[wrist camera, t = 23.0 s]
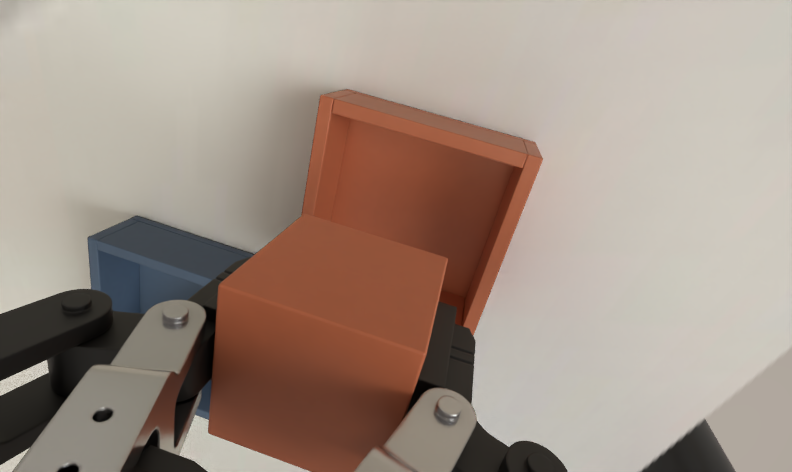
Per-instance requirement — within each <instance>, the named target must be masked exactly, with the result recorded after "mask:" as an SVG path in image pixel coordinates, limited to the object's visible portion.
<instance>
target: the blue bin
mask: <svg viewBox="0 0 792 472" xmlns="http://www.w3.org/2000/svg"><path fill="white" fill-rule="evenodd" d="M88 251H89V264H90V278H91V289H92V290H98V291H101V292H104V293H106V294H107V295H109V296H110V298H111V299H112V308H113V311H119V312H130V313H140V314H145V313H146V312H147V311H148V310H149V309H150V308H151V307H153V306H154V305H156V304H159V303H161V302H165V301H170V300H188V299H189V298H190V297H191V296H193V295H194V294H195V293H197V292H198V291H199V290H200V289H202V288H203V287H204V286H205V285H207V284H208V283H209V282H210V281H212V280H213V279H216V277H217V276H218V275H219V274H220V273H222V272H224V271H225V269H227V268H228V267H229V266H231V265H232V264H233V263H234V262H236V261H239V260H242V259H245V258H248V257H252V256H254V254H251V253H248V252H245V251H242V250H239V249H236V248H233V247H230V246H227V245H223V244H220V243H217V242H214V241H211V240H208V239H205V238H202V237H199V236H196V235H193V234H190V233H187V232H184V231H181V230H178V229H175V228H172V227H169V226H166V225H163V224H160V223H157V222H154V221H151V220H148V219H145V218H142V217H139V216H135V217H132V218H131V219H128V220H126V221H124V222H121V223H119V224H117V225H114V226H112V227H110V228H108V229H105V230H103V231H101V232H99V233H96V234H94V235H92V236H89V237H88ZM211 383H212V381H211V380H209V382H208V383H207V384H206V385H205V386H204V387H203V388H202V397H201V400H200V403H199V406H198V408H197V411H196V413H195V415H197V416H200V417H203V418H205V419H208V420H209V411H210V397H211Z"/></svg>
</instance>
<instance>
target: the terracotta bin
mask: <svg viewBox="0 0 792 472" xmlns="http://www.w3.org/2000/svg"><path fill="white" fill-rule="evenodd" d="M542 161H543V158H542V156H541V154H540V152H539V149H538V147H537V145H536V143H535V142H532V141H528V140H525V139H521V138H518V137H514V136H511V135H507V134H504V133H500V132H497V131H493V130H490V129H486V128H483V127H479V126H476V125H472V124H469V123H465V122H461V121H458V120H454V119H451V118H447V117H444V116H440V115H437V114H433V113H430V112H426V111H423V110H419V109H416V108H412V107H409V106H405V105H402V104H398V103H395V102H391V101H387V100H384V99H380V98H377V97H373V96H370V95H366V94H363V93H359V92H356V91H352V90H349V89H346V90H342V91H337V92H333V93H328V94H323V95H321V96H320V101H319V107H318V113H317V120H316V126H315V132H314V139H313V145H312V151H311V158H310V164H309V170H308V177H307V183H306V189H305V196H304V202H303V208H302V215H303V214H308V215H311V216H314V217H318V218H321V219H324V220H327V221H331V222H334V223H337V224H340V225H343V226H347V227H350V228H353V229H356V230H359V231H363V232H366V233H369V234H372V235H375V236H379V237H382V238H385V239H388V240H391V241H395V242H398V243H401V244H404V245H408V246H411V247H414V248H417V249H420V250H424V251H427V252H430V253H433V254H436V255H440V256H443V257H446V258H447V259H448V262H447V266H446V271H445V275H444V280H443V284H442V288H441V293H440V297H439V301H440V302H443V303H446V304H449V305H452V306H455V307H457V312H456V318H455V324H457V325H460V326H463V327H467V328H469V329H470V331H471V333H472V335H474V332H475V330H476V327H477V325H478V322H479V320H480V317H481V315H482V312H483V309H484V307H485V304H486V302H487V299H488V297H489V294H490V292H491V289H492V287H493V284H494V282H495V279H496V277H497V274H498V272H499V269H500V267H501V264H502V262H503V259H504V256H505V254H506V251H507V249H508V246H509V244H510V241H511V239H512V236H513V234H514V231H515V229H516V226H517V224H518V221H519V219H520V216H521V214H522V211H523V209H524V206H525V203H526V201H527V198H528V196H529V193H530V191H531V188H532V186H533V183H534V181H535V178H536V176H537V173H538V171H539V168H540V166H541V163H542ZM302 215H301V216H302Z"/></svg>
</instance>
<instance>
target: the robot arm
mask: <svg viewBox="0 0 792 472" xmlns="http://www.w3.org/2000/svg"><path fill="white" fill-rule="evenodd" d="M250 258H251V257H248V258H245V259H242V260H239V261H236V262H234V263H233V264H232V265H231V266H229V267H228V268H227V269H225V271H224V272H222V273H220V274H219V275H218V276H217V277H216V279H213V280H212V281H210V282H209V283H208V284H207V285H205V286H204V287H203V288H202V289H200V290H199V291H198V292H197V293H195V294H194V295H193V296H191V297H190V298H189V299H188V300H170V301H165V302H161V303H159V304H156V305H154V306H153V307H151V308H150V309H149V310H148V311H147V312H146V313H145V314H140V313H130V312H119V311H113V308H112V299H111V298H110V296H109V295H107V294H106V293H104V292H101V291H98V290H92V289H77V290H70V291H66V292H62V293H59V294H56V295H53V296H51V297H48V298H45V299H42V300H39V301H36V302H33V303H31V304H28V305H25V306H22V307H19V308H16V309H14V310H11V311H8V312H5V313H2V314H0V381H1V380H3V379H6V378H8V377H10V376H12V375H14V374H16V373H19V372H21V371H23V370H25V369H27V368H30V367H32V366H34V365H36V364H38V363H40V362H43V361H45V360H47V362H48V369H49V373H47V374H45V375H43V376H41V377H39V378H37V379H35V380H33V381H31V382H29V383H26V384H24V385H22V386H20V387H18V388H16V389H14V390H12V391H10V392H8V393H6V394H4V395H2V396H0V465H1V464H3V463H5V462H6V461H8V460H10V459H11V458H13V457H15V456H16V455H18V454H20V453H21V452H23V451H25V450H26V449H28V448H30V449H29V450H28V451H27V453H26V454H25V455H24V457H23V458H22V459H21V461H20V462H19V463H18V465H17V466H16V468H15V469H14V470H13V472H207V471H206V470H205V469H203V468H202V467H201V466H200V465H198V464H197V463H196V462H194V461H192V460H189V459H187V458H184V457H181V456H179V454H180V452H181V449H182V446H183V444H184V441H185V439H186V436H187V434H188V431H189V429H190V426H191V423H192V421H193V418H194V416H195V413H196V411H197V408H198V406H199V403H200V400H201V397H202V388H203V387H204V386H205V385H206V384H207V383H208V382H209V380H211V381H212V369H213V354H214V340H215V326H216V311H217V297H218V286H219V284H220V283H221V282H222V281H223V280H225V279H226V278H227V277H228V276H229V275H231V274H232V273H233V272H234V271H235V270H237V269H238V268H239V267H240V266H242V265H243V264H244V263H245V262H246V261H248V260H249V259H250ZM456 312H457V307H455V306H452V305H449V304H446V303H443V302H440V301H439V302H438V306H437V310H436V315H435V319H434V324H433V328H432V333H431V337H430V341H429V346H428V350H427V355H426V358H425V361H424V363H423V366H422V369H421V372H420V375H419V378H418V381H417V384H416V387H415V390H414V393H413V396H412V399H411V401H410V404H409V407H408V410H407V413H406V416H405V418H404V419H403V420H402V422H401V423H400V424H399V426H398V427H397V428H396V429H395V431H394V432H393V433H392V435H391V436H390V437H389V439H388V440H387V441H386V443H385V444H384V445H383V446H382V447H381V446H379V445H376V446H374V447H373V448H372V449H371V450H370V452H369V453H368V454H367V455H366V457H365V458H364V459H363V460H362V462H361V463H360V464H359V465H358V467H357V468H356V469H355V471H354V472H567V470H566V468H565V466H564V465H563V463H562V462H561V461H560V460H559V459H558V457H556V456H555V455H554V454H553V453H552V452H551V451H549V450H548V449H547V448H545V447H543V446H541V445H539V444H537V443H534V442H530V441H518V442H516V443H514V444H512V445H511V446H510V447H508V446H506V445H505V444H503V443H502V442H500V441H499V440H497V439H496V438H494V437H493V436H491V435H490V434H489V433H488V432H486V431H485V430H484V429H483V428H482V427H481V425H480V424H479V423H478V421H477V418H476V413H475V410H474V408H473V407H472V405H471V402H472V387H473V371H474V366H473V365H474V354H475V339H474V337H473V335H472V333H471V331H470V329H469V328H467V327H463V326H460V325H457V324H455V318H456Z"/></svg>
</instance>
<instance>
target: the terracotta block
mask: <svg viewBox="0 0 792 472" xmlns="http://www.w3.org/2000/svg"><path fill="white" fill-rule="evenodd" d="M447 262H448V259H447V258H446V257H443V256H440V255H436V254H433V253H430V252H427V251H424V250H420V249H417V248H414V247H411V246H408V245H404V244H401V243H398V242H395V241H391V240H388V239H385V238H382V237H379V236H375V235H372V234H369V233H366V232H363V231H359V230H356V229H353V228H350V227H347V226H343V225H340V224H337V223H334V222H331V221H327V220H324V219H321V218H318V217H314V216H311V215H308V214H303V215H302V216H301V217H300V218H298V219H297V220H296V221H295V222H294V223H292V224H291V225H290V226H289V227H288V228H286V229H285V230H284V231H283V232H281V233H280V234H279V235H278V236H277V237H275V238H274V239H273V240H272V241H271V242H269V243H268V244H267V245H266V246H265V247H263V248H262V249H261V250H260V251H258V252H257V253H256V254H255V255H254V256H252V257H251V258H250V259H249V260H248V261H246V262H245V263H244V264H243V265H242V266H240V267H239V268H238V269H237V270H235V271H234V272H233V273H232V274H231V275H229V276H228V277H227V278H226V279H225V280H223V281H222V282H221V283H220V284H219V286H218V297H217V311H216V326H215V340H214V354H213V369H212V383H211V397H210V411H209V426H208V433H209V434H211V435H214V436H217V437H219V438H222V439H225V440H228V441H230V442H233V443H236V444H238V445H241V446H244V447H246V448H249V449H252V450H254V451H257V452H260V453H263V454H265V455H268V456H271V457H273V458H276V459H279V460H281V461H284V462H287V463H289V464H292V465H295V466H298V467H300V468H303V469H306V470H308V471H311V472H354V471H355V469H356V468H357V467H358V465H359V464H360V463H361V462H362V460H363V459H364V458H365V457H366V455H367V454H368V453H369V452H370V450H371V449H372V448H373V447H374V446H376V445H379V446H381V447H382V446H383V445H384V444H385V443H386V441H387V440H388V439H389V437H390V436H391V435H392V433H393V432H394V431H395V429H396V428H397V427H398V426H399V424H400V423H401V422H402V420H403V419H404V418H405V416H406V413H407V410H408V407H409V404H410V401H411V399H412V396H413V393H414V390H415V387H416V384H417V381H418V378H419V375H420V372H421V369H422V366H423V363H424V361H425V358H426V355H427V350H428V346H429V341H430V337H431V333H432V328H433V324H434V319H435V315H436V310H437V306H438V302H439V297H440V293H441V288H442V284H443V280H444V275H445V271H446V266H447Z"/></svg>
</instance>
